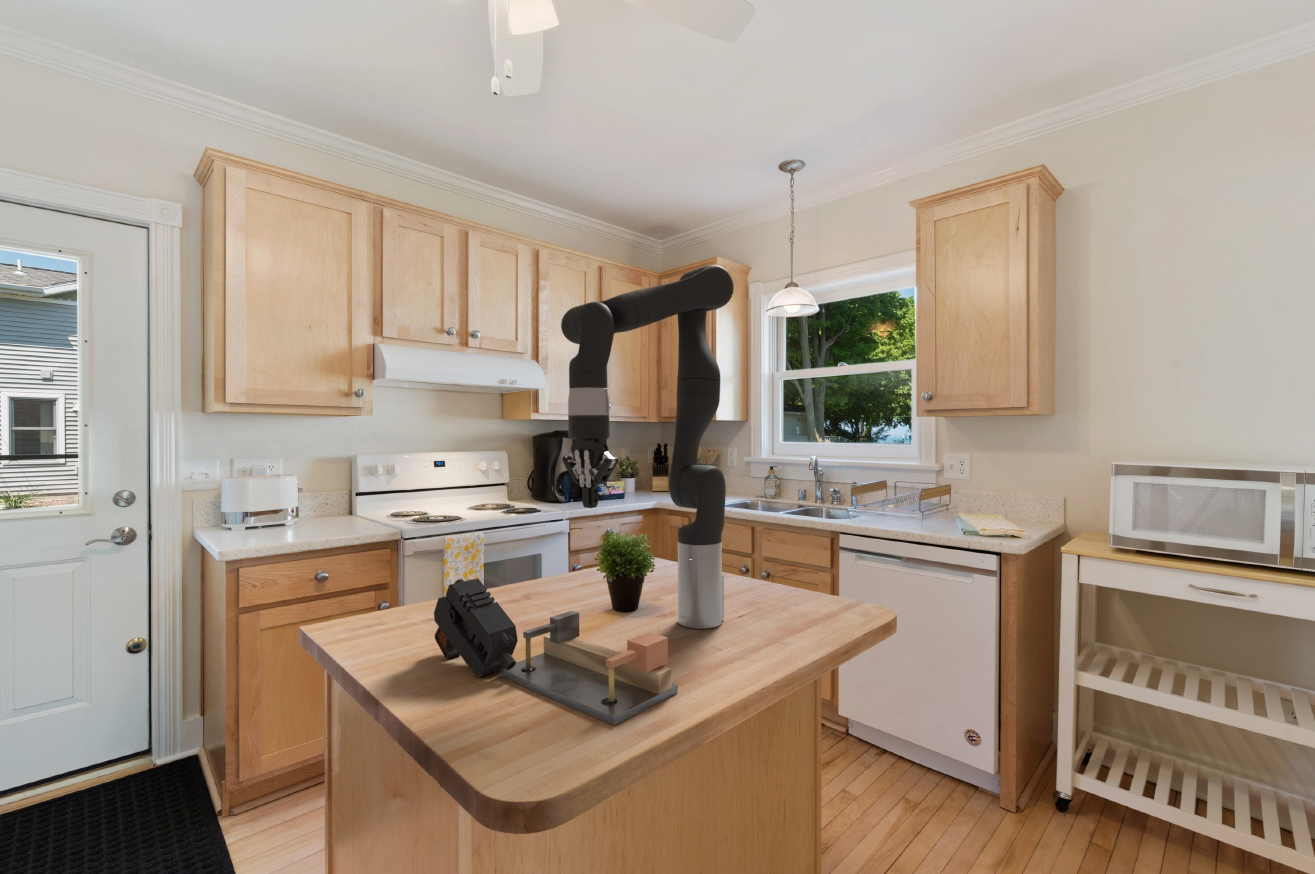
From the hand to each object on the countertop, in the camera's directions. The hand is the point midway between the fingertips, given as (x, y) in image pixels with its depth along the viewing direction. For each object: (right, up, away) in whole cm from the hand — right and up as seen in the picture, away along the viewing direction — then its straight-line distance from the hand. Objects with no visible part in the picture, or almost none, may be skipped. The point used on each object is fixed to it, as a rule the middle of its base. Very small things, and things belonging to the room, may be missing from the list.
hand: (590, 507), depth 114 cm
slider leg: (+9, -25, -20) cm, 34 cm away
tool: (-19, -27, -6) cm, 34 cm away
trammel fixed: (+1, -26, -14) cm, 29 cm away
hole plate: (+1, -27, -14) cm, 30 cm away
